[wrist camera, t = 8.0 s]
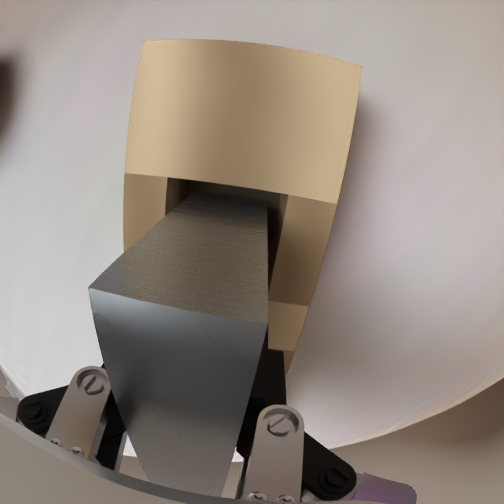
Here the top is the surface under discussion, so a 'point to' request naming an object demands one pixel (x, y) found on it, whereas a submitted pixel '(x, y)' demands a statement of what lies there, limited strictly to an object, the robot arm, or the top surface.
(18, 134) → the top surface
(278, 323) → the wooden block with holes
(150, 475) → the gray pronged block
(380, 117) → the top surface
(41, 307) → the top surface
